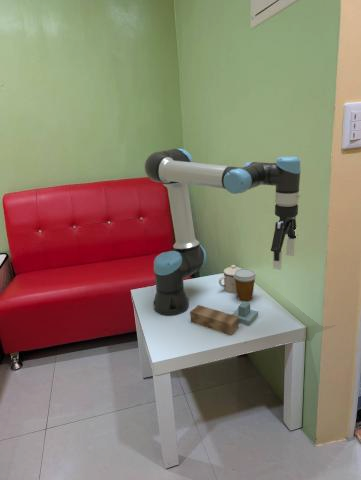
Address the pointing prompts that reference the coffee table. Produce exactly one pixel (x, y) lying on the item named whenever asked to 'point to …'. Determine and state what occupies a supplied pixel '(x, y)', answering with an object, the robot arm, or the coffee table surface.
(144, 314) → the coffee table surface
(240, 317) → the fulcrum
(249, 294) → the disposable coffee cup
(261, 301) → the coffee table surface
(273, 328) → the coffee table surface
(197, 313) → the batten
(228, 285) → the teacup with lid
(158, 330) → the coffee table surface
